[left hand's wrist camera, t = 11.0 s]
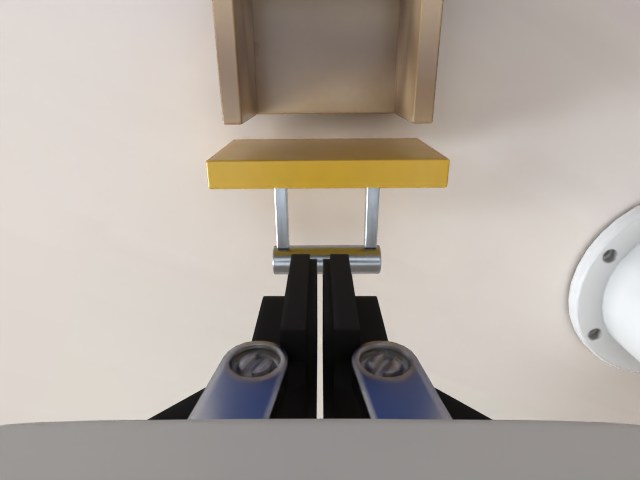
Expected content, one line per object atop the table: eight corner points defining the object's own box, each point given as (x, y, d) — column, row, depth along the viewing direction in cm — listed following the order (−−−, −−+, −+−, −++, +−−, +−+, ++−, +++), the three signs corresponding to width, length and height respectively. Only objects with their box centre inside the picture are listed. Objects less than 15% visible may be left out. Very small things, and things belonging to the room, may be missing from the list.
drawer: (409, 249, 25) (435, 300, 19) (242, 250, 25) (220, 301, 19) (455, -340, 16) (528, -561, 10) (194, -338, 16) (127, -557, 10)
